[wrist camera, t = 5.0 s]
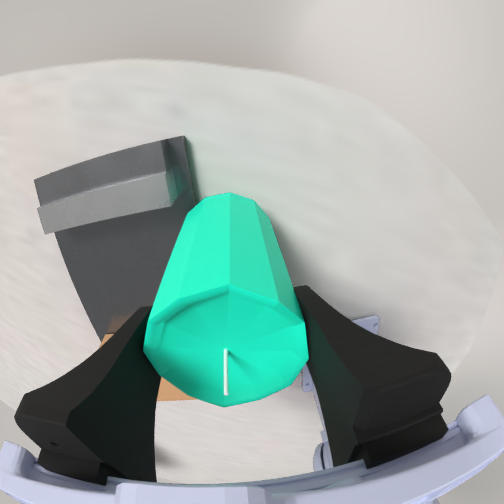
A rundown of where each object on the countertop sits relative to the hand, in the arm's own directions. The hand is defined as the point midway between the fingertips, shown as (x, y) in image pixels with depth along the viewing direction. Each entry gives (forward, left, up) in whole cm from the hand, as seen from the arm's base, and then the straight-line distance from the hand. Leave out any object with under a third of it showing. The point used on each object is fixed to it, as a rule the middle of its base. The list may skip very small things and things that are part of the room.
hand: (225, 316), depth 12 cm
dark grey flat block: (-4, +8, -10) cm, 14 cm away
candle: (0, 0, -8) cm, 8 cm away
